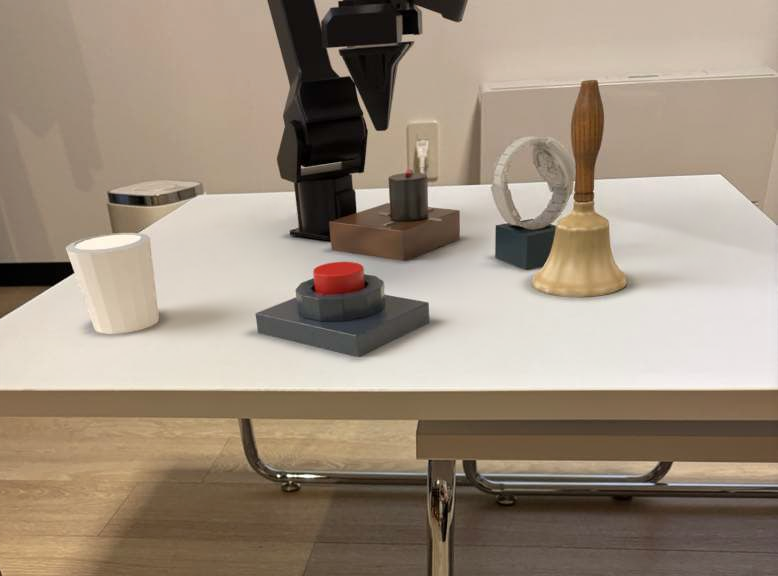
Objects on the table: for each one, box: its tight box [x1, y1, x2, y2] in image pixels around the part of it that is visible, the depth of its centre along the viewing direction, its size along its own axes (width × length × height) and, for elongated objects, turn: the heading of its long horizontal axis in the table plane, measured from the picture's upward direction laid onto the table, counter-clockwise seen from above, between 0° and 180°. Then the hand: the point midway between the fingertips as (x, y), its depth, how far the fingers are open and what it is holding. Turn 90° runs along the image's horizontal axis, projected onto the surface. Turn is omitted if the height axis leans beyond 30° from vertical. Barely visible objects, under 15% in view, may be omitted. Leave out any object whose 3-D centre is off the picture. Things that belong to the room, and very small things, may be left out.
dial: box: [388, 169, 429, 221], centre depth 86 cm, size 4×4×4 cm
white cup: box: [65, 232, 160, 335], centre depth 71 cm, size 7×7×7 cm
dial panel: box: [329, 202, 461, 262], centre depth 88 cm, size 11×10×3 cm
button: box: [312, 261, 365, 294], centre depth 66 cm, size 4×4×2 cm
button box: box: [254, 273, 430, 358], centre depth 67 cm, size 11×9×4 cm
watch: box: [490, 135, 576, 271], centre depth 78 cm, size 6×8×11 cm
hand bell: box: [531, 79, 628, 298], centre depth 69 cm, size 8×8×16 cm
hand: (382, 130), depth 78 cm, fingers closed
